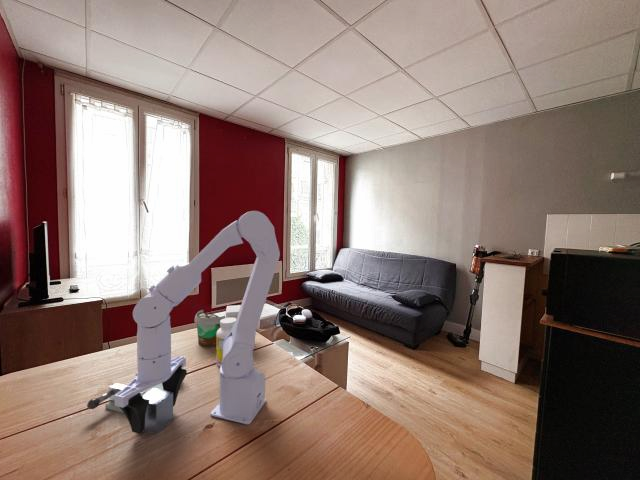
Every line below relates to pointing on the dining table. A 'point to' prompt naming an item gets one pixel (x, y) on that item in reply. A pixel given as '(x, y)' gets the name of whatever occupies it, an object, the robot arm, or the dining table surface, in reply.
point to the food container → (207, 328)
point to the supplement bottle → (223, 337)
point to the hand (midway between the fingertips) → (155, 417)
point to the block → (158, 410)
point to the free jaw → (108, 395)
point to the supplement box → (232, 311)
